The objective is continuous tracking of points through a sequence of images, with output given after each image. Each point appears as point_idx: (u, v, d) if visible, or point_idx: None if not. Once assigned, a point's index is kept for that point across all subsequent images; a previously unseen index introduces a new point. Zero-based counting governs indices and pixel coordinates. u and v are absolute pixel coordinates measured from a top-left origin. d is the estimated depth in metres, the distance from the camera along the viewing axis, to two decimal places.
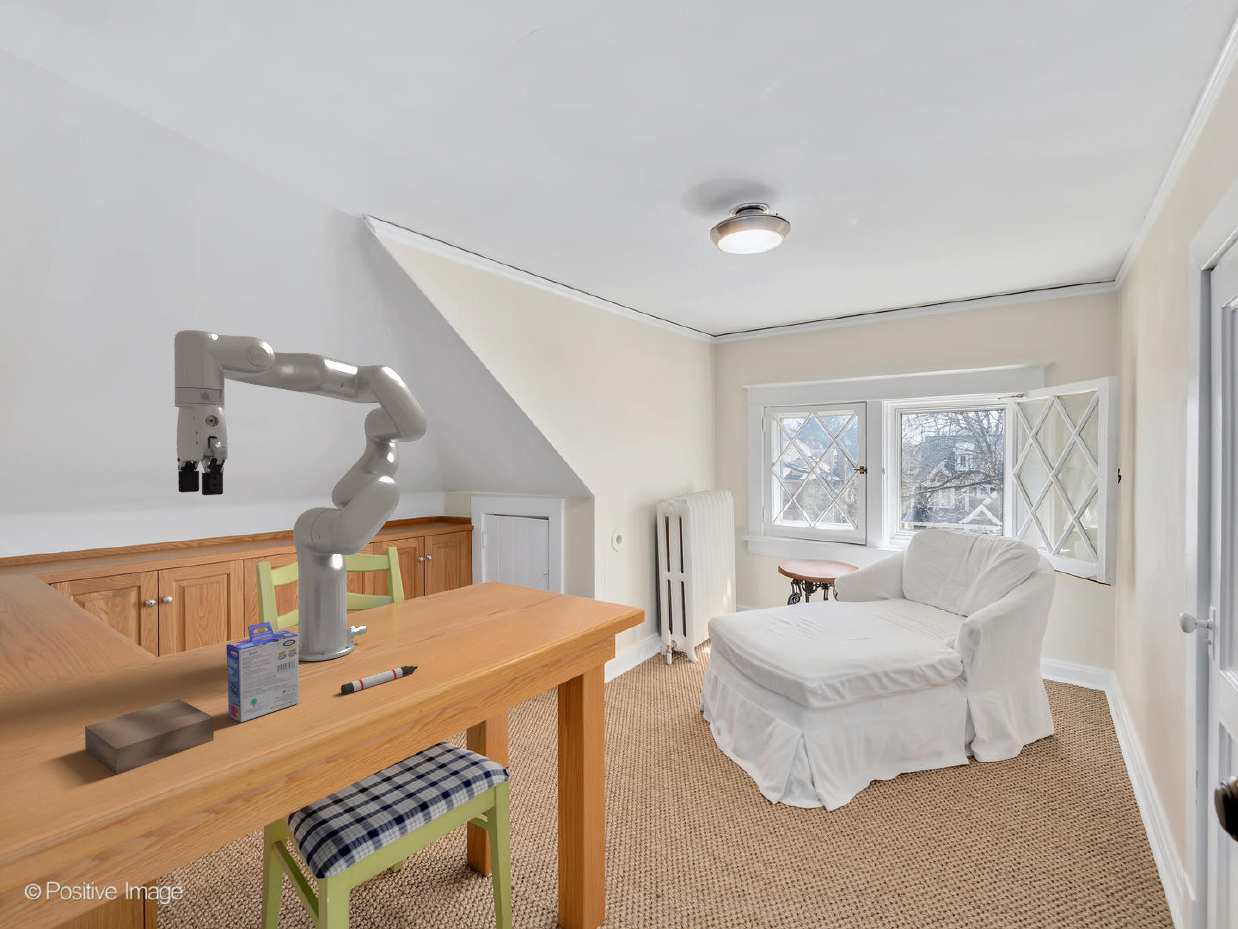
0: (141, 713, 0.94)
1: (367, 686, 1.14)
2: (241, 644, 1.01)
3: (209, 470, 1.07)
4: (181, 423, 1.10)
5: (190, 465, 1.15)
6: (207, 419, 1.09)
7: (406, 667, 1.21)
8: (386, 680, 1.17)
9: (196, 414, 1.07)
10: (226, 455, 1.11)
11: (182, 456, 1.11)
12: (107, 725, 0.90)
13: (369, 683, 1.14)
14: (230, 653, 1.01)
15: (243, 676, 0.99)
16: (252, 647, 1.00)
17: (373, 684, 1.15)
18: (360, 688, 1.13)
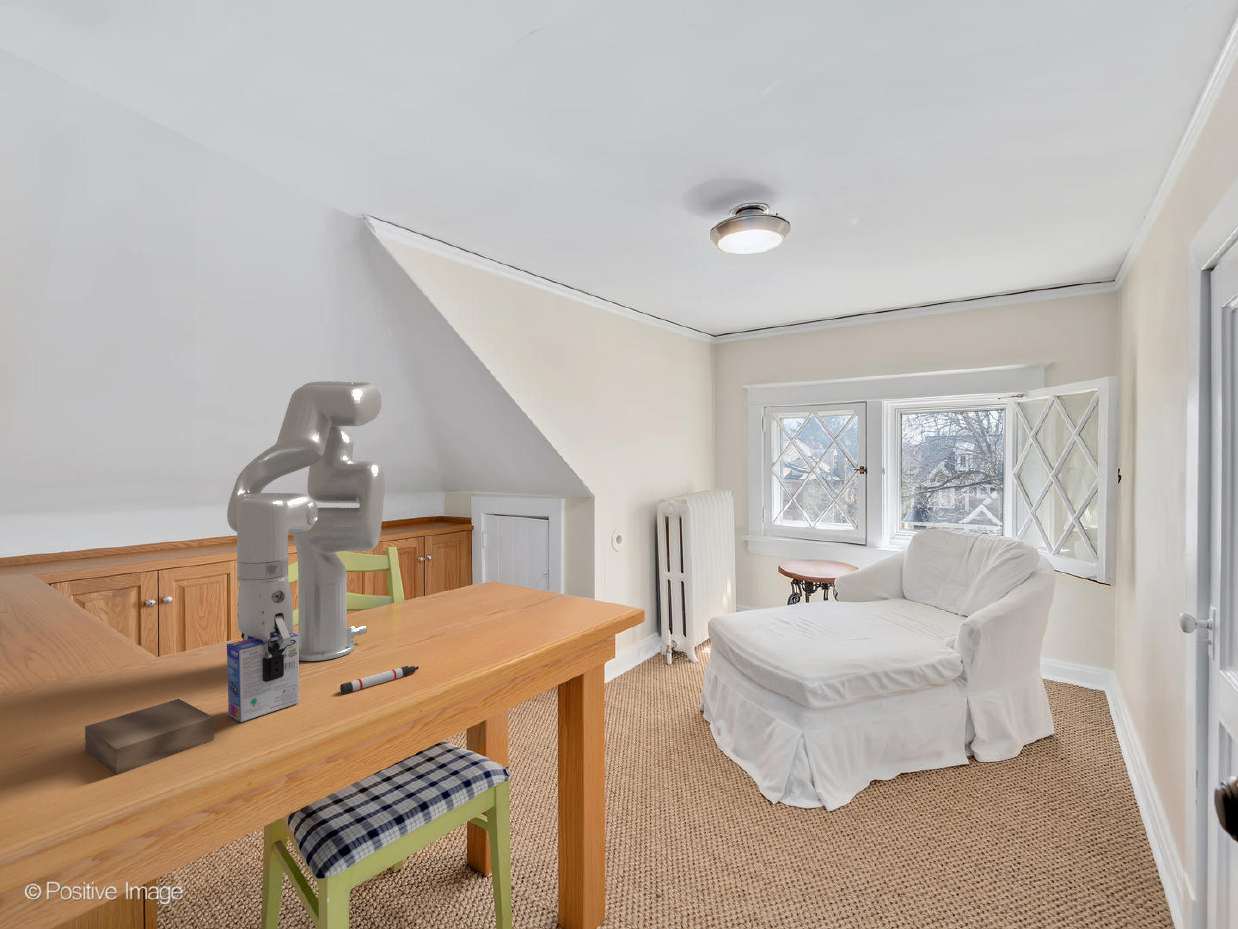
0: (141, 713, 0.94)
1: (366, 686, 1.14)
2: (242, 644, 1.01)
3: (271, 656, 1.01)
4: (244, 597, 1.02)
5: None
6: (273, 595, 1.01)
7: (407, 667, 1.20)
8: (386, 680, 1.17)
9: (262, 592, 1.00)
10: (292, 630, 1.03)
11: (244, 631, 1.03)
12: (107, 725, 0.90)
13: (368, 683, 1.14)
14: (230, 653, 1.01)
15: (243, 676, 0.99)
16: (252, 647, 1.00)
17: (372, 684, 1.15)
18: (359, 688, 1.13)
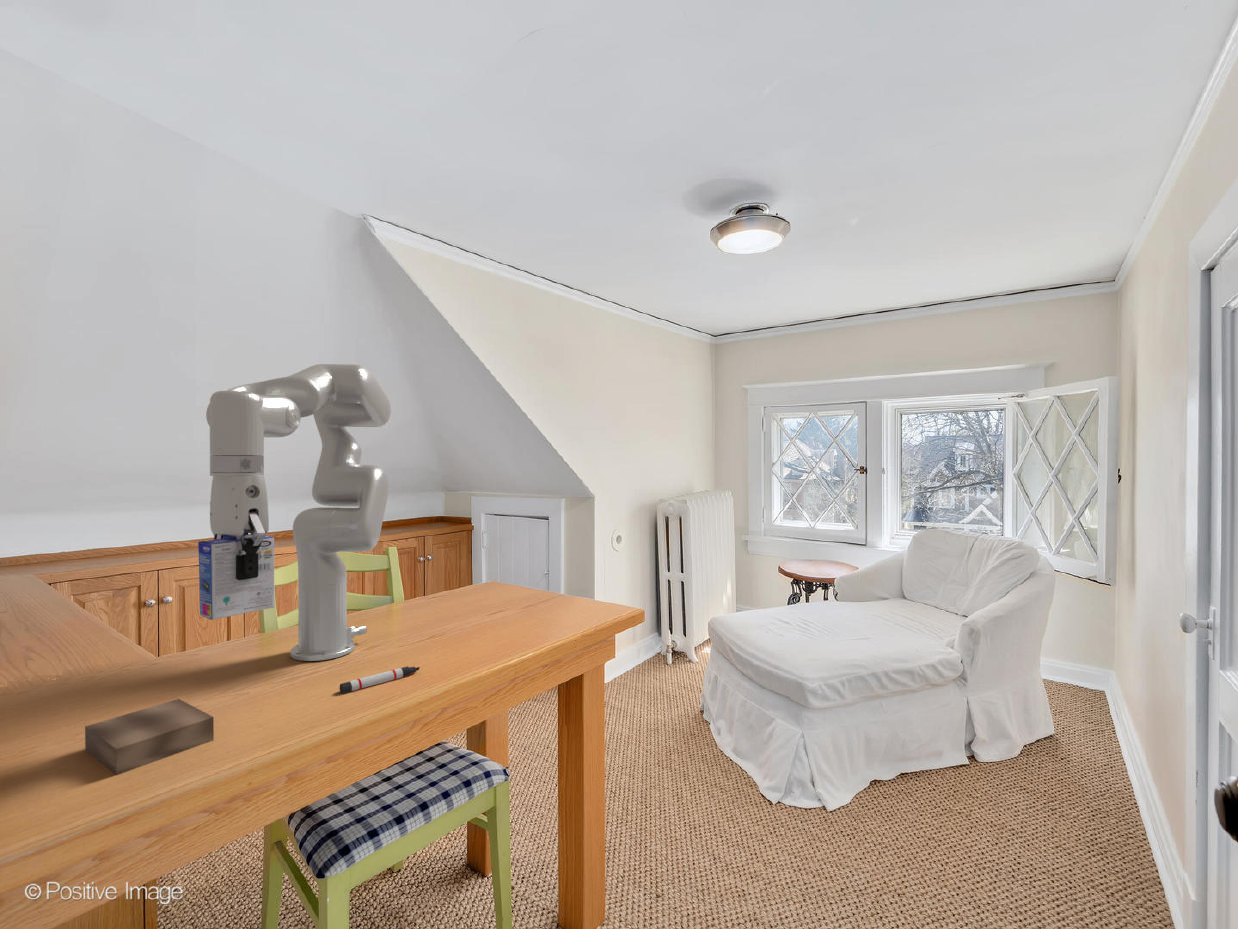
0: (141, 713, 0.94)
1: (366, 686, 1.14)
2: (214, 541, 0.97)
3: (244, 553, 0.97)
4: (216, 493, 0.99)
5: None
6: (247, 490, 0.98)
7: (407, 668, 1.20)
8: (386, 680, 1.17)
9: (235, 485, 0.96)
10: (267, 528, 1.00)
11: (217, 530, 0.99)
12: (107, 725, 0.90)
13: (368, 683, 1.14)
14: (202, 550, 0.97)
15: (215, 571, 0.95)
16: (225, 543, 0.96)
17: (372, 684, 1.15)
18: (358, 687, 1.13)
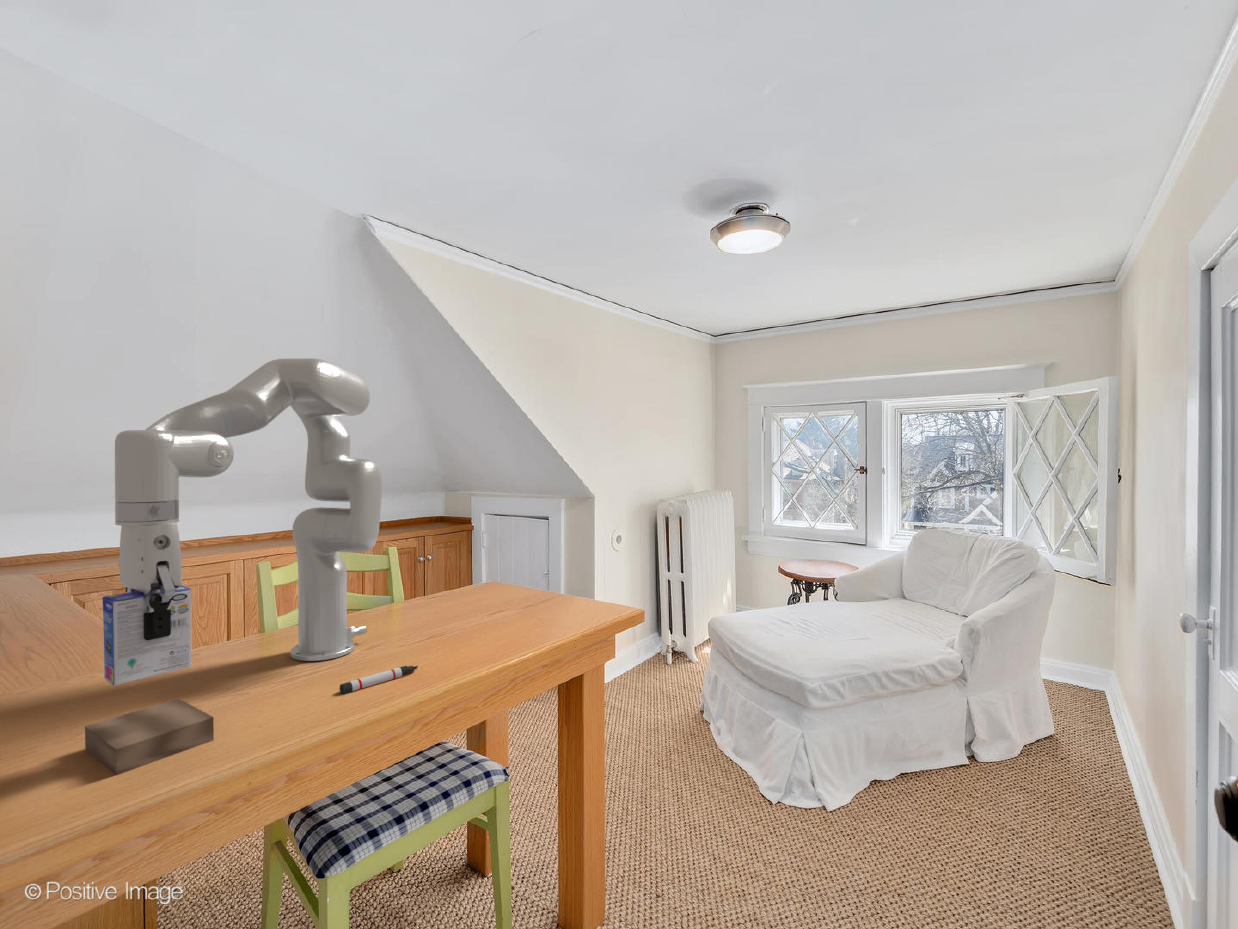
0: (141, 713, 0.94)
1: (366, 686, 1.14)
2: (119, 596, 0.88)
3: (152, 610, 0.88)
4: (124, 543, 0.89)
5: None
6: (156, 540, 0.88)
7: (406, 667, 1.21)
8: (385, 680, 1.17)
9: (141, 536, 0.87)
10: (180, 582, 0.90)
11: (125, 583, 0.90)
12: (107, 725, 0.90)
13: (368, 683, 1.14)
14: (105, 607, 0.87)
15: (118, 632, 0.86)
16: (130, 599, 0.87)
17: (372, 684, 1.15)
18: (359, 688, 1.13)
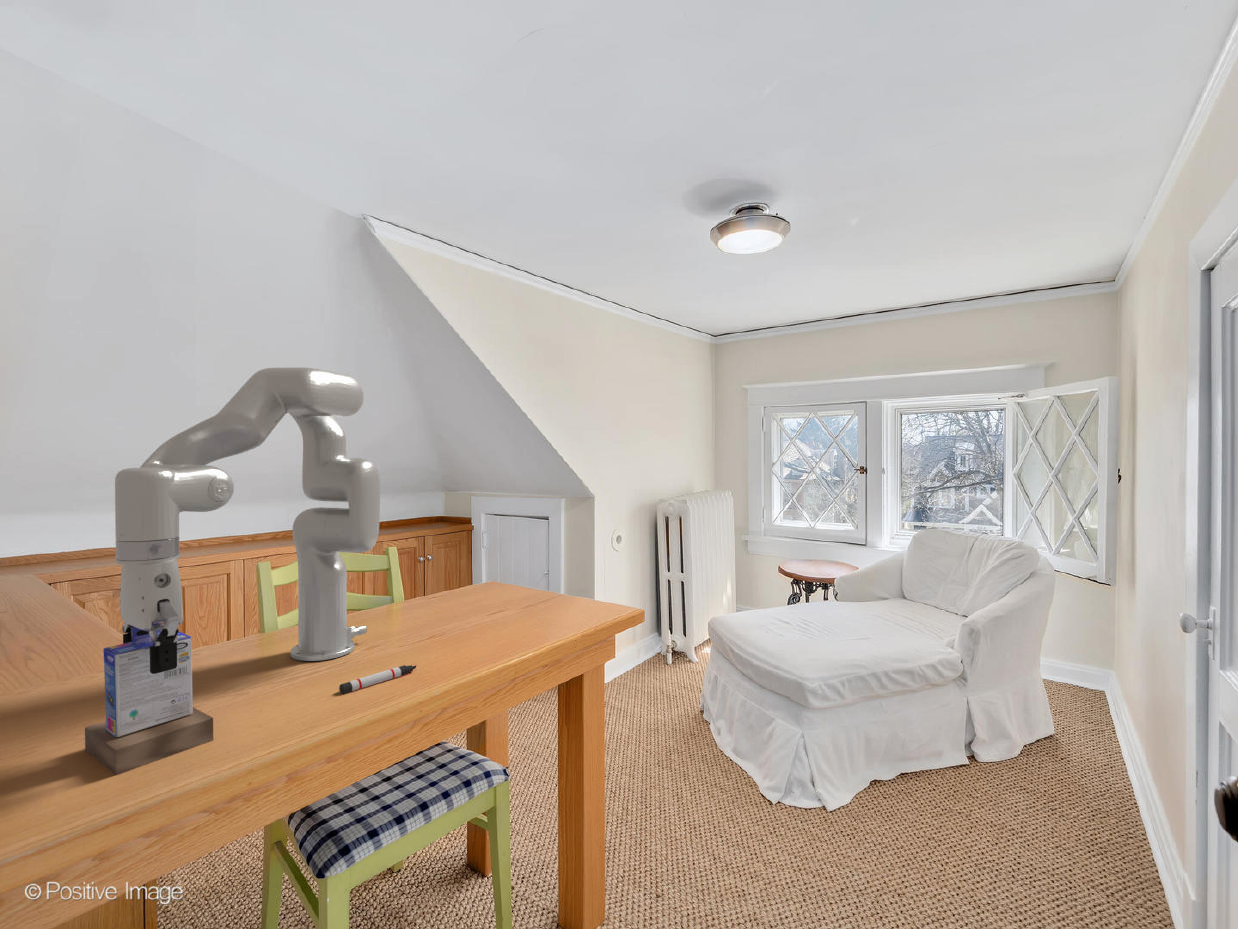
0: None
1: (365, 685, 1.14)
2: (120, 648, 0.88)
3: (159, 644, 0.87)
4: (124, 581, 0.89)
5: None
6: (156, 578, 0.88)
7: (405, 666, 1.21)
8: (384, 679, 1.17)
9: (142, 575, 0.87)
10: (181, 619, 0.90)
11: (126, 620, 0.90)
12: None
13: (367, 683, 1.14)
14: (106, 659, 0.88)
15: (120, 684, 0.86)
16: (132, 651, 0.88)
17: (371, 683, 1.15)
18: (358, 687, 1.13)
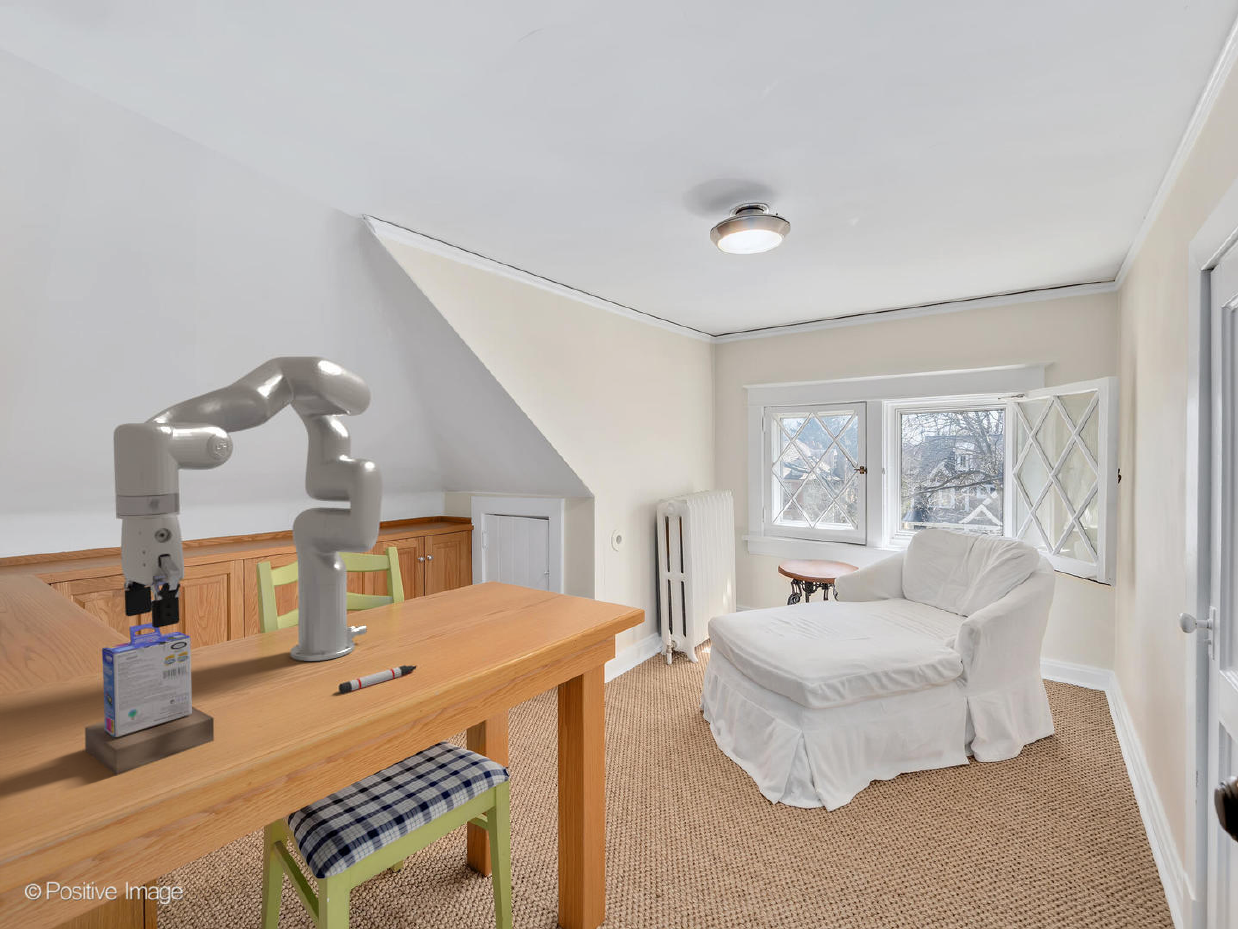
0: None
1: (365, 685, 1.14)
2: (119, 648, 0.88)
3: (160, 598, 0.87)
4: (125, 536, 0.89)
5: None
6: (157, 533, 0.88)
7: (405, 667, 1.21)
8: (384, 679, 1.17)
9: (143, 529, 0.87)
10: (182, 574, 0.90)
11: (128, 576, 0.90)
12: None
13: (367, 683, 1.14)
14: (105, 658, 0.88)
15: (118, 684, 0.86)
16: (130, 651, 0.88)
17: (371, 683, 1.15)
18: (358, 687, 1.13)
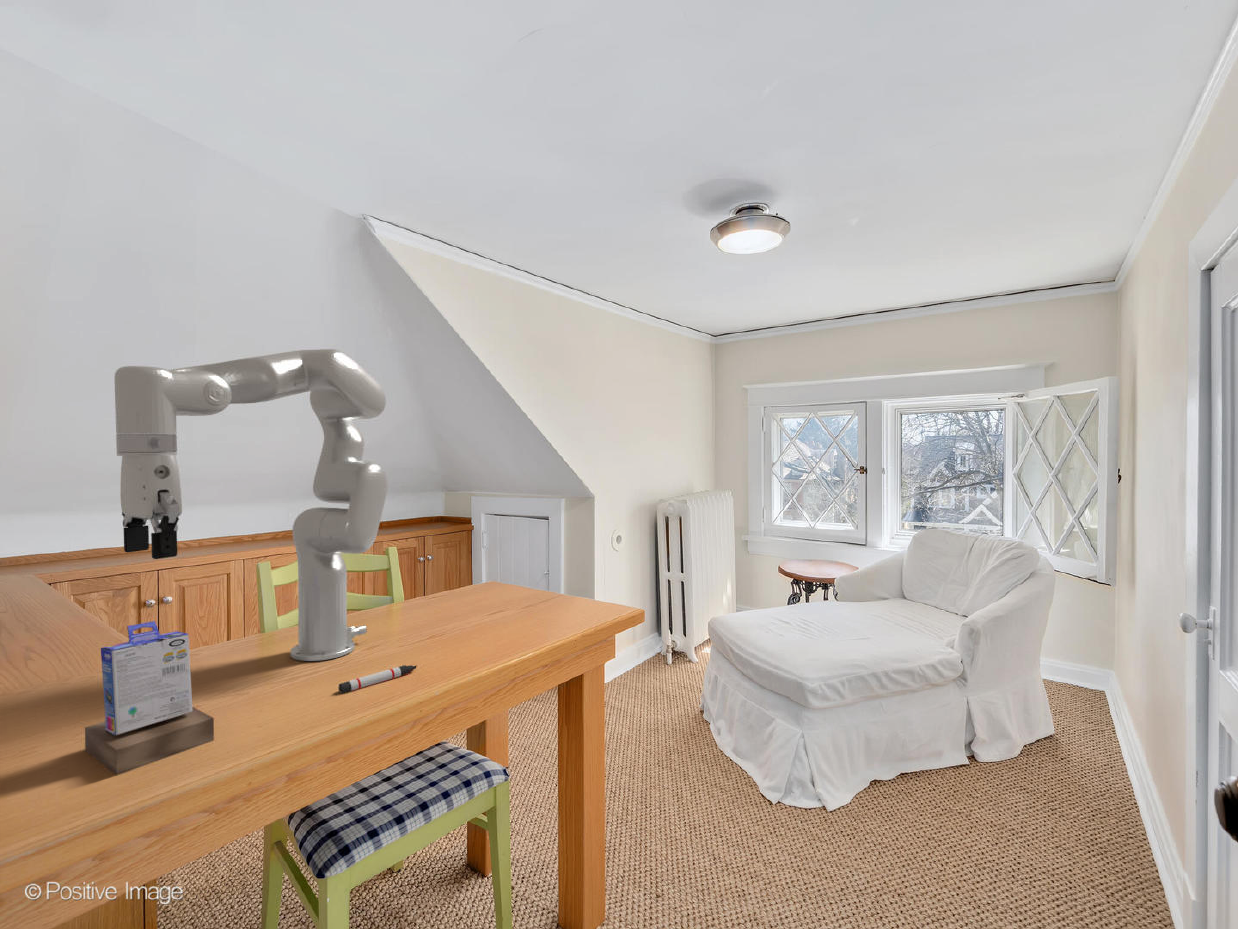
0: None
1: (365, 685, 1.14)
2: (117, 646, 0.89)
3: (160, 530, 0.92)
4: (125, 474, 0.94)
5: (137, 520, 0.99)
6: (156, 470, 0.93)
7: (405, 666, 1.21)
8: (384, 679, 1.17)
9: (143, 465, 0.92)
10: (180, 510, 0.96)
11: (127, 512, 0.95)
12: None
13: (367, 682, 1.14)
14: (103, 657, 0.88)
15: (117, 681, 0.87)
16: (128, 648, 0.88)
17: (371, 683, 1.15)
18: (357, 687, 1.13)
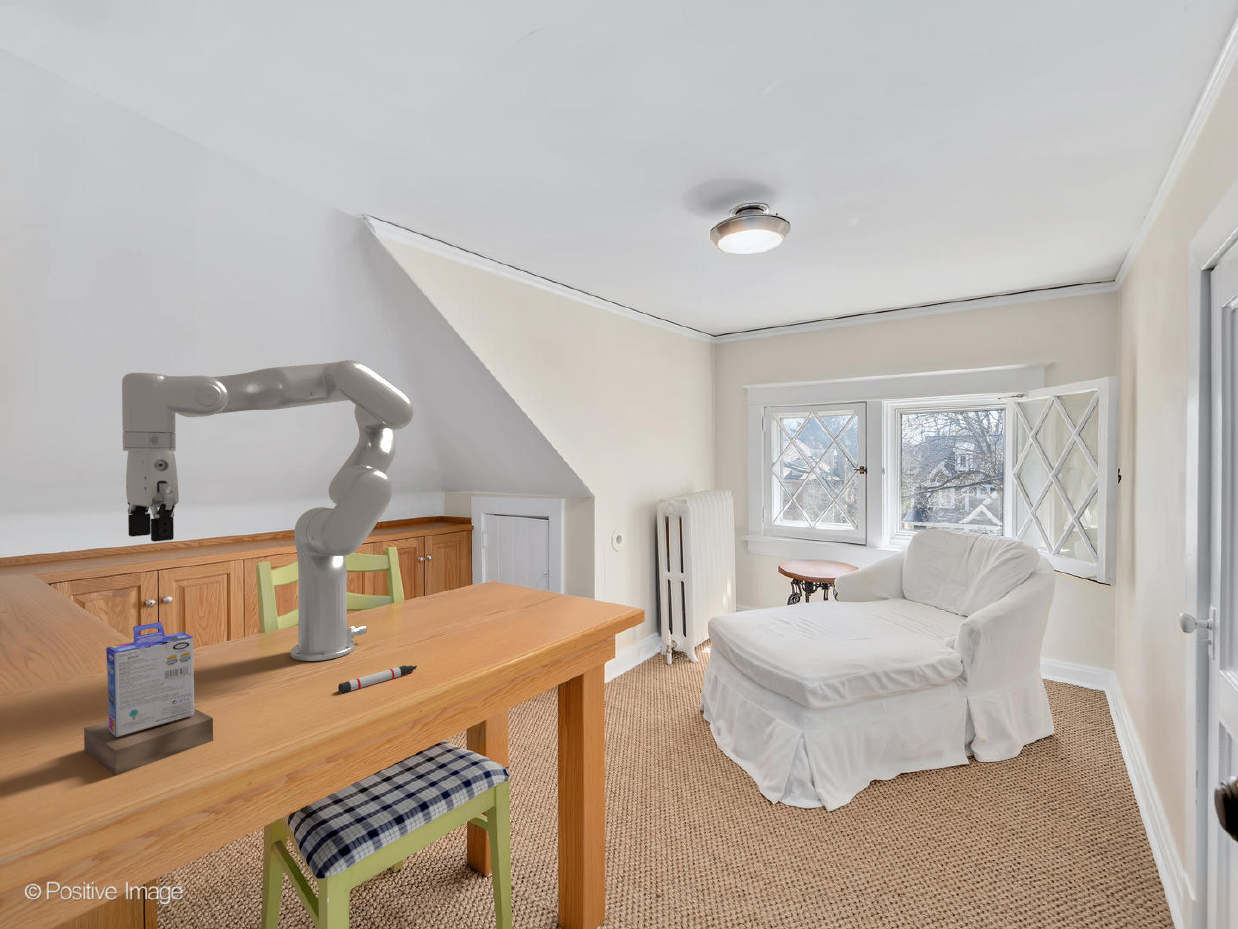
0: None
1: (364, 685, 1.14)
2: (121, 647, 0.88)
3: (158, 516, 1.05)
4: (130, 467, 1.08)
5: (141, 508, 1.12)
6: (156, 463, 1.07)
7: (405, 667, 1.21)
8: (384, 679, 1.17)
9: (144, 459, 1.05)
10: (177, 499, 1.09)
11: (131, 500, 1.09)
12: (106, 727, 0.90)
13: (366, 683, 1.14)
14: (108, 658, 0.88)
15: (119, 683, 0.86)
16: (132, 650, 0.88)
17: (371, 683, 1.15)
18: (357, 687, 1.13)
